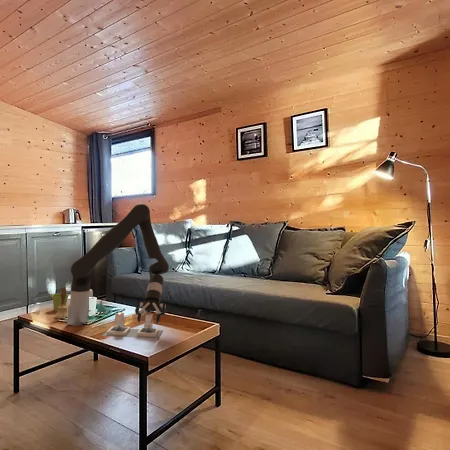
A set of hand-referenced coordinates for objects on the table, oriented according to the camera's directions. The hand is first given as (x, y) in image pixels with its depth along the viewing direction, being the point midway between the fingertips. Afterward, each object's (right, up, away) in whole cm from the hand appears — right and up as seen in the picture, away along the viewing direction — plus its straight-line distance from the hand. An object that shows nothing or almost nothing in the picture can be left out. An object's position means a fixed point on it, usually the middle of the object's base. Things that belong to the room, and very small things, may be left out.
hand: (148, 321), depth 166 cm
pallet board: (-7, -7, +1) cm, 10 cm away
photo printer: (-50, -5, +47) cm, 69 cm away
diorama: (-33, -6, +39) cm, 51 cm away
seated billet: (-14, -5, +1) cm, 15 cm away
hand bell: (-54, -5, +27) cm, 61 cm away
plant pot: (-62, -5, +42) cm, 75 cm away
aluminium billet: (0, -6, +1) cm, 6 cm away
